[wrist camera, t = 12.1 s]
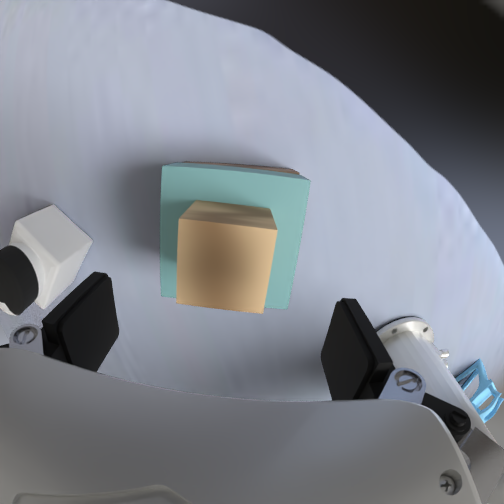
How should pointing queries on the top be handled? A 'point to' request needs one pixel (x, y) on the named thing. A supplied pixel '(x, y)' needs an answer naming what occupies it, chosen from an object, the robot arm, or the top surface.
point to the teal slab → (242, 193)
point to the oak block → (225, 256)
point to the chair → (481, 390)
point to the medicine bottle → (40, 259)
